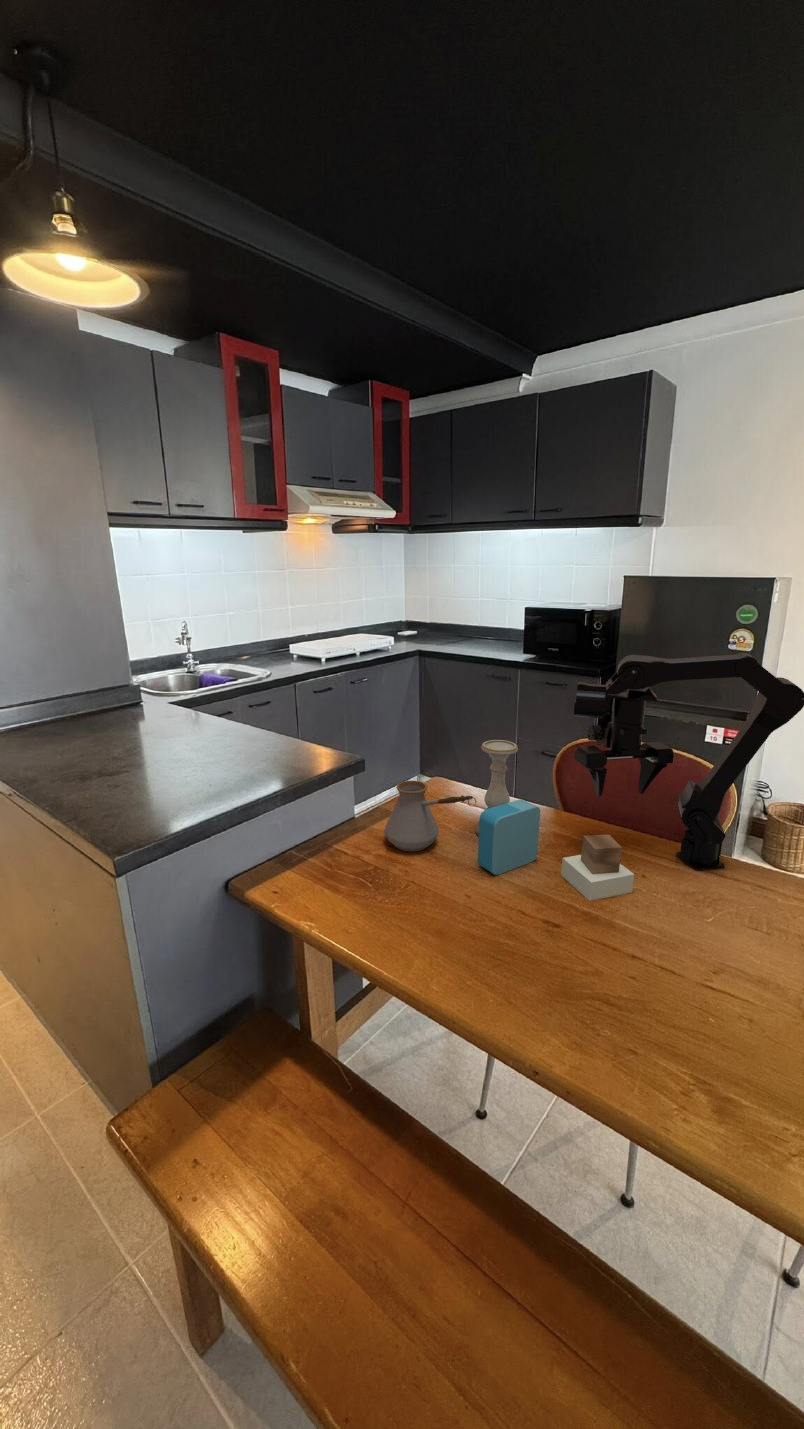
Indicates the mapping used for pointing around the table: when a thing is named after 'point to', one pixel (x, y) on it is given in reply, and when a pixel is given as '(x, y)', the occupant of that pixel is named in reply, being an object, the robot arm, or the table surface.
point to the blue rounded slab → (508, 836)
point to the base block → (596, 879)
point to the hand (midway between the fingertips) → (619, 794)
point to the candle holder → (497, 772)
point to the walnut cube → (601, 854)
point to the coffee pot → (414, 817)
